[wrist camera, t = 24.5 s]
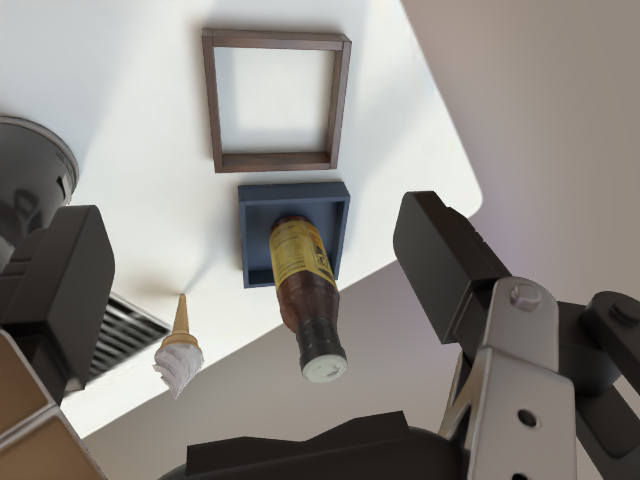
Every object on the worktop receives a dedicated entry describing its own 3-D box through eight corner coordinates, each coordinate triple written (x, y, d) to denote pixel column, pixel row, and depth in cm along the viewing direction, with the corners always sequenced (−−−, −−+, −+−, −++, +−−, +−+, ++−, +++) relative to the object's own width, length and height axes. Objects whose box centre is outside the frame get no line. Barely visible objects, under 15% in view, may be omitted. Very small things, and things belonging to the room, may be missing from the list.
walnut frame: (214, 161, 42) (215, 173, 40) (202, 28, 34) (201, 35, 32) (331, 158, 45) (336, 169, 43) (345, 34, 37) (352, 41, 35)
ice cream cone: (156, 282, 51) (141, 390, 40) (202, 278, 52) (199, 381, 41) (165, 311, 54) (153, 417, 43) (207, 306, 56) (206, 408, 44)
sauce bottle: (319, 245, 52) (362, 384, 37) (271, 255, 51) (296, 400, 36) (314, 205, 47) (360, 343, 33) (262, 215, 47) (285, 361, 32)
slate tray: (242, 271, 53) (244, 288, 50) (237, 185, 44) (239, 201, 42) (332, 264, 55) (337, 280, 53) (343, 181, 47) (350, 196, 45)
